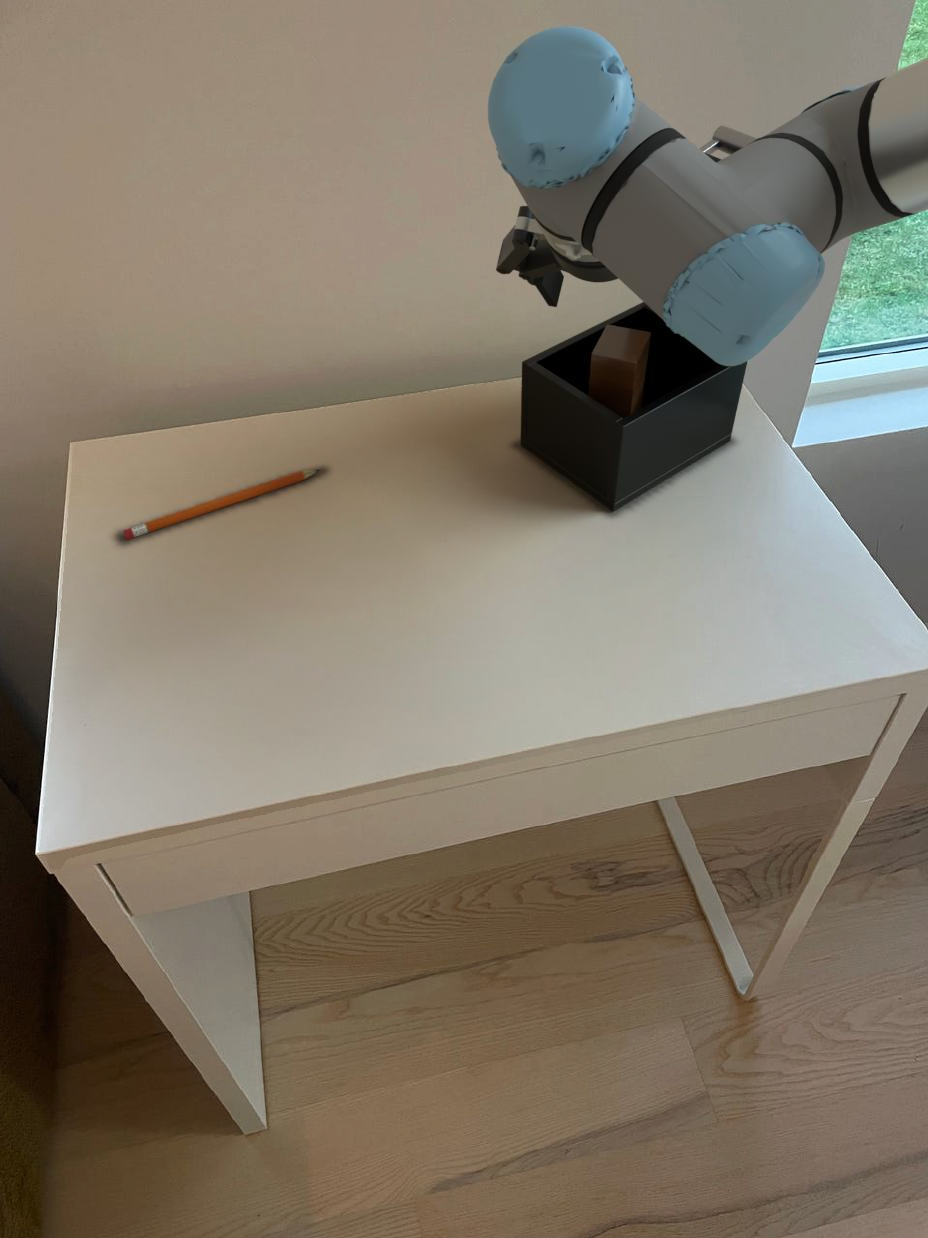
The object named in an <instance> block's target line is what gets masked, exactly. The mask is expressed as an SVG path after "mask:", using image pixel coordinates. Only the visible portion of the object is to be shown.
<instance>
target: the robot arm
mask: <svg viewBox="0 0 928 1238" xmlns="http://www.w3.org/2000/svg"><path fill="white" fill-rule="evenodd" d="M628 73H629V72H628V68H627V66H626V65H625V64H624V63H623V60H622V57H621V56H620V54H619V52H618V51H617V49H615V47H614V46H613V45H612V44H611V43H610V42H609V40H607V39H606V38H605V37H603V36H602V35H600V34H599V33H597V32H596V31H593V30H590V29H588V28H584V27H581V26H573V25H562V26H555V27H549V28H548V29H544V30H541V31H539V32H536V33H535V34H533V35H531V36H528V38H526V39H525V40H523V41H522V42H520V43H519V45H518V46H517V47H515V49H514V50H512V51H511V52H510V53H509V54H508V55H507V56H506V57H505V59H504V61H503V62H502V64H501V65H500V66H499V68H498V70H497V72H496V74H495V76H494V79H493V81H492V83H491V87H490V91H489V93H488V94H489V95H488V101H487V120H488V121H487V122H488V126H489V131H490V134H491V137H492V139H493V141H494V144H495V146H496V148H495V150H496V151H497V159H498V160H499V161H500V162H501V168H502V169H503V170H504V172H505V173H507V174H508V175H509V176H510V177H511V179H512V182H513V183H514V184H515V187H516V188H517V190H518V192H519V193H520V195H521V197H522V199H523V201H524V202H525V204H526V205H520V206H519V209H518V213H517V216H516V221H515V224H514V226H513V227H511V229H510V230H509V232H508V233H507V234H506V235H505V236H504V238H503V239H502V242H501V246H500V250H499V253H498V258H497V263H496V267H495V271H496V272H497V273H499V274H501V275H510V274H511V273H512V272H513V271H516V272H518V275H517V276H518V277H519V278H521V279H522V280H524V281H527V283H528V284H530V285H531V286H535V288H536V289H537V291H538V292H539V294H540V295H541V297H542V298H543V300H544V301H545V303H546V304H547V306H548V307H553V308H557V307H558V304H559V299H560V295H561V293H562V292H561V291H562V287H563V283H564V280H565V279H564V278H565V275H564V274H563V272H565V273H568V274H570V275H571V276H572V277H574V278H575V279H576V278H577V279H578V280H581V281H584V282H589V283H607V282H612V281H615V280H619V281H620V282H621V283H623V284H624V285H625V286H626V287H627V288H628V289H629V290H630V291H631V292H632V293H634V295H636V297H638V298H639V299H640V300H641V301H642V302H644V303H646V304H647V305H648V306H649V307H650V308H651V309H652V310H653V311H654V312H655V313H656V314H657V315H658V316H660V317H661V318H662V319H663V320H664V322H666V325H667V326H668V327H670V328H671V330H672V331H673V332H674V333H675V334H676V333H678V334H680V335H681V336H684V337H685V338H686V339H687V340H689V341H690V342H691V343H692V344H694V345H695V346H696V347H698V348H699V349H700V350H701V351H703V352H704V353H705V354H706V355H708V356H709V357H710V358H712V359H713V360H714V361H715V362H717V363H719V364H721V365H724V366H736V365H740V364H742V363H744V362H746V361H748V362H749V361H750V360H751V359H753V358H754V357H756V356H758V354H759V353H761V352H762V351H763V350H764V349H765V348H766V347H767V346H768V345H769V344H770V343H771V342H772V340H773V339H775V338H777V336H778V335H780V334H781V333H782V332H783V331H784V330H785V329H786V328H787V326H788V325H789V324H790V323H791V322H792V321H793V320H794V319H795V318H796V316H797V315H798V314H799V313H800V311H801V310H802V309H803V308H804V306H805V305H806V304H807V302H808V301H809V300H810V298H811V297H812V296H813V294H814V293H815V291H816V290H817V289H818V287H819V285H820V283H821V281H822V279H823V277H824V273H825V267H826V263H825V260H824V259H825V258H824V257H823V253H825V252H826V251H827V250H829V249H830V248H832V247H833V246H835V245H836V244H838V243H839V242H840V241H842V240H844V239H846V238H848V237H850V236H852V235H855V234H857V233H861V232H864V231H867V230H871V229H873V228H876V227H880V226H883V225H886V224H890V223H893V222H896V221H899V220H901V219H904V218H907V217H910V216H913V215H916V214H919V213H921V212H924V211H928V56H927V57H925V58H923V59H920V60H918V61H917V62H914V63H912V64H909V65H907V66H904V67H903V68H900V69H898V70H896V71H893V72H891V73H889V75H888V76H885V77H883V78H880V79H877V80H874V81H871V82H869V83H867V84H864V85H858V86H854V87H850V88H846V89H842V90H840V91H839V90H838V91H837V92H834V93H832V94H830V95H827V96H825V97H824V98H822V99H820V100H818V101H816V102H814V103H812V104H810V105H809V106H807V107H806V108H805V109H803V110H802V111H801V113H800V114H798V115H796V116H794V117H793V118H791V119H790V120H788V121H787V122H784V124H782V125H780V126H778V127H777V128H775V129H773V130H772V131H770V132H769V133H767V134H765V135H764V136H761V137H757V138H758V139H756V140H755V141H753V142H752V143H750V144H748V145H747V146H745V147H743V148H742V149H740V150H738V151H736V152H734V153H733V154H731V155H730V154H728V156H726V157H724V158H722V160H720V161H718V162H717V163H716V162H715V161H713V160H712V159H711V158H710V157H709V156H707V155H706V154H705V153H704V152H703V151H701V150H700V149H699V148H700V147H698V146H697V145H695V144H694V143H693V142H692V141H691V140H689V139H688V138H687V137H686V136H684V135H683V134H682V133H680V132H679V131H678V130H677V129H676V128H674V127H673V126H672V125H671V124H670V123H669V122H667V121H666V120H665V119H664V118H663V117H662V116H660V115H659V114H658V113H657V112H656V111H654V110H653V109H652V108H651V107H650V106H648V105H647V104H646V103H645V102H643V100H641V99H640V98H639V97H638V96H637V95H636V93H635V92H634V85H633V77H632V76H631V75H629V74H628Z"/></svg>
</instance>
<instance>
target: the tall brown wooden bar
mask: <svg viewBox="0 0 928 1238" xmlns="http://www.w3.org/2000/svg"><path fill="white" fill-rule="evenodd" d="M650 337H651V332H646V331H640V330H635V329H629V328H623V327H618V326H612V325H607V326H606V328H605V330H604V332H603V334H602V335H601V337H600V339H599V341H598V343H597V345H596V347H595V349H594V351H593V353H592V355H591V367H590V380H589V392H588V396H589V397H591V398H592V399H594V400H596V401H597V402H599V403H600V404H602V405H603V406H605V407H607V408H608V409H610V410H611V411H613V412H614V413H616V414H618V415H619V416H621V417H622V418H625V417H627V416H628V415H630V414H632V413H634V412H636V411H637V410H639V409H641V405H642V398H643V390H644V382H645V375H646V367H647V359H648V352H649V344H650Z"/></svg>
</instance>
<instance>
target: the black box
mask: <svg viewBox="0 0 928 1238" xmlns="http://www.w3.org/2000/svg"><path fill="white" fill-rule="evenodd" d="M607 325H612V326H618V327H623V328H629V329H635V330H640V331H646V332H651V337H650V344H649V352H648V359H647V367H646V375H645V382H644V390H643V398H642V405H641V409H639V410H637V411H636V412H634V413H632V414H630V415H628V416H627V417H625V418H622V417H621V416H619V415H618V414H616V413H614V412H613V411H611V410H610V409H608V408H607V407H605V406H603V405H602V404H600V403H599V402H597V401H596V400H594V399H592V398H591V397H589V396H588V392H589V380H590V367H591V355H592V353H593V351H594V349H595V347H596V345H597V343H598V341H599V339H600V337H601V335H602V334H603V332H604V330H605V328H606V326H607ZM748 362H749V360H748V361H746V362H744V363H742V364H740V365H736V366H724V365H721V364H719V363H717V362H715V361H714V360H713V359H712V358H710V357H709V356H708V355H706V354H705V353H704V352H703V351H701V350H700V349H699V348H698V347H696V346H695V345H694V344H692V343H691V342H690V341H689V340H687V339H686V338H685V337H684V336H681V335H680V334H678V333H676V334H675V333H674V332H673V331H672V330H671V328H670V327H668V326H667V325H666V322H664V320H663V319H662V318H661V317H660V316H658V315H657V314H656V313H655V312H654V311H653V310H652V309H651V308H650V307H649V306H648V305H647V304H646V303H644V302H643V301H642V302H640V303H637V304H636V305H634V306H632V307H629V308H628V309H626V310H624V311H621V312H620V313H618V314H616V315H614V316H612V317H609V318H608V319H605V320H603V321H602V322H599V323H597V324H596V325H593V326H591V327H589V328H588V329H585V330H584V331H581V332H579V333H577V334H575V335H573V336H571V337H569V338H567V339H565V340H563V341H561V342H559V343H557V344H555V345H553V346H550V347H548V348H547V349H545V350H543V351H540V352H539V353H537V354H534V355H533V356H531V357H529V358H527V359H523V360H522V361H521V388H520V389H521V391H520V393H521V394H520V395H521V396H520V403H521V404H520V436H519V437H520V440H519V441H520V442H519V445H520V446H521V447H522V448H523V449H525V450H526V451H527V452H528V453H531V454H532V455H533V456H535V457H536V458H538V460H540V461H541V462H543V463H545V464H546V465H547V466H549V467H550V468H551V469H553V470H554V471H555V472H557V473H558V474H560V475H561V476H562V477H564V478H565V479H566V480H568V481H569V482H571V483H572V484H574V485H575V486H577V487H578V488H579V489H581V490H582V491H584V492H585V493H586V494H588V495H589V496H591V497H592V498H593V499H595V500H596V501H597V502H599V503H600V504H602V505H603V506H604V507H606V508H607V509H609V510H610V511H611V512H612V513H614V512H616V511H617V510H619V509H621V508H622V507H624V506H625V505H627V504H629V503H630V502H632V501H634V500H636V499H637V498H638V497H640V496H642V495H644V494H646V493H647V492H649V491H650V490H652V489H653V488H656V487H657V486H659V485H661V484H662V483H664V482H666V481H667V480H669V479H670V478H671V477H674V476H675V475H677V474H678V473H680V472H682V471H683V470H685V469H687V468H688V467H690V466H692V465H693V464H694V463H697V462H698V461H700V460H701V459H703V458H705V457H706V456H708V455H710V454H712V453H713V452H715V451H716V450H718V449H720V448H721V447H723V446H724V445H726V444H728V443H729V442H731V438H732V435H733V434H732V433H733V430H734V425H735V420H736V416H737V411H738V407H739V402H740V398H741V394H742V388H743V384H744V379H745V375H746V371H747V365H748Z"/></svg>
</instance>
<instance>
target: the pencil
mask: <svg viewBox="0 0 928 1238" xmlns="http://www.w3.org/2000/svg"><path fill="white" fill-rule="evenodd" d="M321 470H322V469H320V468H319V469H312V470H310V469H309V470H301V471H297V472H294V473H291V474H289V475H286V476H283V477H280V478H277V479H273V480H271V481H267V482H264V483H261V484H258V485H255V486H252V487H250V488H247V489H243V490H240V491H237V492H234V493H231V494H228V495H224V496H223V497H219V498H216V499H213V500H211V501H207V502H204V503H201V504H199V505H195V506H192V507H189V508H186V509H183V510H180V511H178V512H175V513H172V514H168V515H166V516H162V517H160V518H157V519H153V520H150V521H147V522H144V523H141V524H139V525H135V526H133V527H129V528H127V529H123V531H122V532H123V534H124V537H125V539H126V540H130V539H133V538H136V537H140V536H142V535H145V534H148V533H151V532H154V531H157V530H160V529H162V528H166V527H168V526H172V525H175V524H178V523H181V522H183V521H184V522H185V521H186V520H189V519H192V518H196V517H199V516H202V515H204V514H207V513H211V512H213V511H216V510H220V509H222V508H225V507H228V506H232V505H234V504H238V503H241V502H243V501H246V500H249V499H252V498H255V497H257V496H261V495H264V494H267V493H271V492H272V491H275V490H279V489H281V488H284V487H287V486H290V485H293V484H297V483H299V482H303V481H305V480H307V479H308V478H309V477H311V476H313V475H315V474H316V473H318V472H319V471H321Z"/></svg>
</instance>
